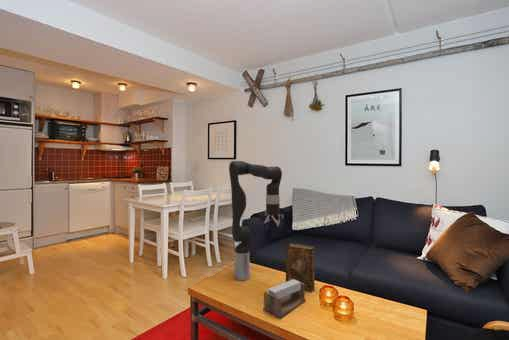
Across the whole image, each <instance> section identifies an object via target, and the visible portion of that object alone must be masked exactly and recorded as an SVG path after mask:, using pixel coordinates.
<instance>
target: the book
mask: <svg viewBox="0 0 509 340" xmlns="http://www.w3.org/2000/svg"><path fill="white" fill-rule="evenodd" d="M315 256H316V255H315V246H313V245H307V244H300V243H294V242H293V243H291V242H290V243H288V245H286V246H285V282H288V278H291V279H295V280H297V281H299V282H302V283H304V284H305V292H307V293H308V292H309V293H314V291H315Z"/></svg>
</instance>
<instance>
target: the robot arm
mask: <svg viewBox="0 0 509 340" xmlns="http://www.w3.org/2000/svg"><path fill="white" fill-rule="evenodd" d="M228 166H229V167H228V171H229V180H230V188H231V189H230V190H231V208H232V209H231V210H232V211H231V212H232V213H231V214H232V225H231V226H232V227H231V229H232V230H231V237H232V240H233V241H234V242H235V243H238V244H237V245H236V246H235V247H234V258H235V259H234V260H235V261H234V262H233V263H234V265H233V270H234V271H233V275H234V276H233V277H234V278H235V280H237V281H240V282H241V281H242V282H243V281H247V280H249V279H250V273H251V272H250V271H251V270H250V248H251V237H252V236H251V234H252V233H251V229H250V227H249V226H248V225H241V219H242V217H243V214H244V213H245V210H246V209H247V196H246V193H245V191H244V190H243V188H242V186H241V184H240V181H239V176H244V175H252V176H253V177H255V178H262V179H264V180H269V181H270V180H271V182H270V183H268V184H266V191H265V192H266V194H265V195H266V197H265V209H266V210H264V211H261V214H262V215H261V222H262V223H263V224H264V229H265V230H266V231H268V230H270V221H272V222H274V223H275V224H276V232H277V234H280V233H281V232H282V226H284V225H285V214H284V213H281V214H280V211H281V210H280V209H281V207H280V206H281V205H280V186H281V181H282V177H283V171H282V168H280V167H279V166H266V165H262V164H252V163H248V162H246V161H243V160H233V161H230V162H229V165H228ZM239 242H240V243H239Z"/></svg>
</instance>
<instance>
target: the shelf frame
mask: <svg viewBox="0 0 509 340" xmlns="http://www.w3.org/2000/svg"><path fill="white" fill-rule="evenodd" d="M290 280H293V279H291V278H288V281H290ZM305 292H306V291H305V284H304V283H302V282H301V290H299V291H296V292H294V293H292V294H289V295H287V296H284V297H282V298H279V297H277V296H275V295H273V294H270V293H268V291H264V292H263V312H266V313H267V314H269V315H272V316H273V317H276V318H277V319H280V320H282V319H283V318H285V317H286V316H287V315H288V314H290V313H292V312H293V311H295V310H296V309H297V308H298V307H300V306H301V305H303V304H304V303H305V302H306V299H305V297H306V296H305Z"/></svg>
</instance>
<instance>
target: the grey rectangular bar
mask: <svg viewBox="0 0 509 340" xmlns="http://www.w3.org/2000/svg"><path fill="white" fill-rule="evenodd" d="M267 289H268V290H267V292H268V293H270V294H273V295H275V296H277V297H279V298H282V297H284V296H287V295H289V294H292V293H294V292H296V291H299V290H301V282H299V281H297V280H295V279H293V280H290V281H288V282H286V281H285V282H283V283H280V284H277V285H275V286H272V287H269V288H267Z"/></svg>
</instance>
